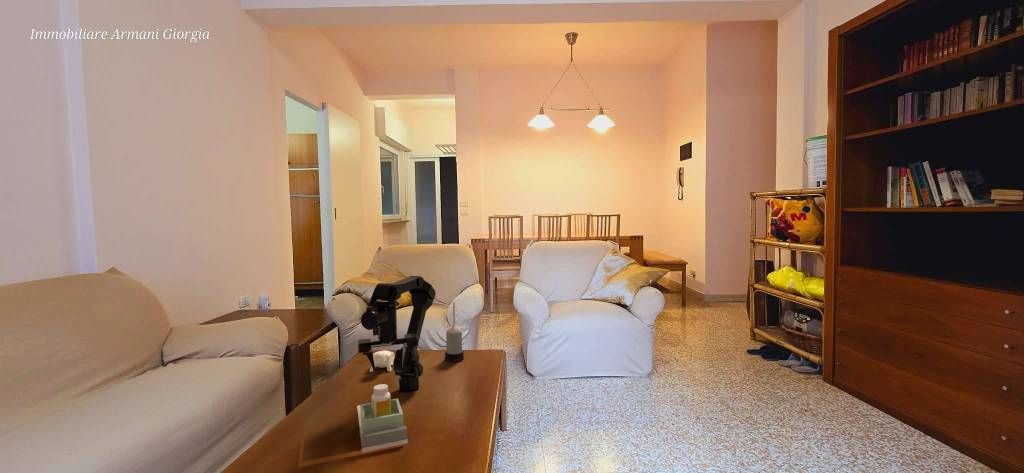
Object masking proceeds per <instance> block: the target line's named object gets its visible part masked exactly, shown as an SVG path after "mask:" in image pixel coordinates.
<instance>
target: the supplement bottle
mask: <svg viewBox="0 0 1024 473" xmlns="http://www.w3.org/2000/svg"><path fill="white" fill-rule="evenodd" d="M391 396H392V395H391V393H390V392H389V385H388V384H383V383H382V384H377V385H374V386H373V393H372V395H371V399H370V400H371V401H370V403H372V418H375V417H381V416H386V415H391V399H392V398H391Z"/></svg>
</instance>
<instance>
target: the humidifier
mask: <svg viewBox="0 0 1024 473" xmlns="http://www.w3.org/2000/svg"><path fill="white" fill-rule="evenodd" d="M455 312H456V302H452V313H449V314H450V317H452V324H450V326H449V327H448V328H447V329H446V332H445V333H446V334H445V336H446V338H445V340H446V342H445V343H446V345H445V347H446V351H445V353H444V360H445V362H447V363H459V362H462V361H463V360H464V359H465V357H464V356H465V353H464V351H463V333H462V332H463V331H462V329H461V328H460V326H457V325H456V313H455ZM451 314H452V315H451Z"/></svg>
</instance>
